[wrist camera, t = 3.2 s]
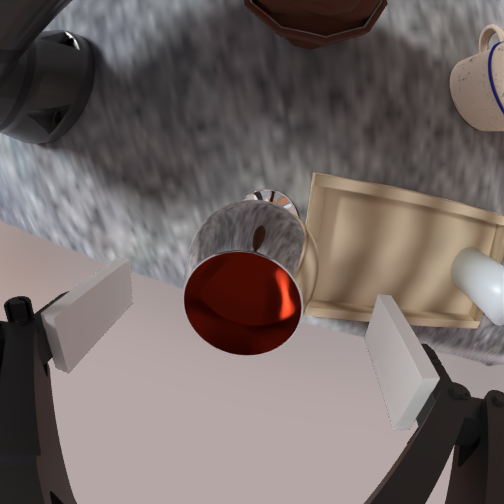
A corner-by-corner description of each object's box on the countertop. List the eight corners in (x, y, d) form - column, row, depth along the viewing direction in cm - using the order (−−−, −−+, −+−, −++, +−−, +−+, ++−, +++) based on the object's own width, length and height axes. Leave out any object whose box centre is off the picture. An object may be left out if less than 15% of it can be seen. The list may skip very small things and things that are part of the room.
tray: (292, 300, 34) (293, 313, 31) (313, 172, 29) (316, 174, 26) (467, 316, 32) (477, 328, 29) (498, 213, 27) (512, 219, 24)
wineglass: (305, 259, 32) (321, 375, 15) (228, 258, 33) (171, 367, 16) (307, 180, 29) (336, 222, 12) (224, 180, 30) (148, 222, 13)
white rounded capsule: (445, 285, 30) (483, 325, 21) (457, 244, 28) (502, 275, 20) (475, 288, 29) (514, 325, 21) (487, 250, 28) (532, 280, 19)
